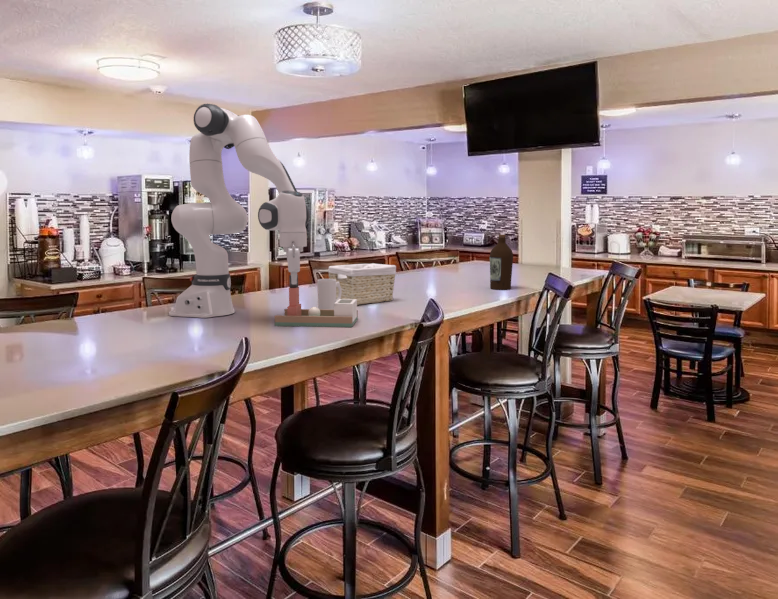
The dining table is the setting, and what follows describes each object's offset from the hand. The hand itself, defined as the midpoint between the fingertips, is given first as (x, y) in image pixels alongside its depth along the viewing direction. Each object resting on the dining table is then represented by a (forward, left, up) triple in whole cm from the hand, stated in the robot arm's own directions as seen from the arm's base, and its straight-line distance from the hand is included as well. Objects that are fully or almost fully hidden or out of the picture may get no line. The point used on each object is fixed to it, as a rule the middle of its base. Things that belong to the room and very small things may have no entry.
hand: (294, 283), depth 206 cm
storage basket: (+17, +46, -13) cm, 51 cm away
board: (+8, 0, -13) cm, 15 cm away
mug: (+9, +20, -13) cm, 25 cm away
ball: (+7, 0, -10) cm, 12 cm away
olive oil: (+76, +91, -13) cm, 119 cm away
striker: (0, 0, -11) cm, 11 cm away
